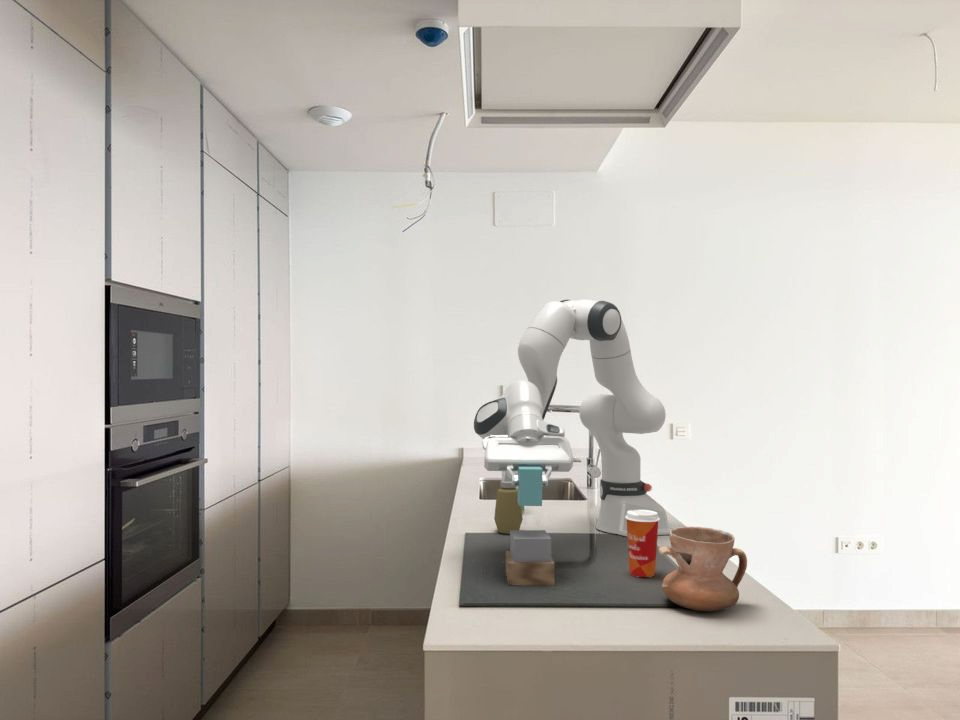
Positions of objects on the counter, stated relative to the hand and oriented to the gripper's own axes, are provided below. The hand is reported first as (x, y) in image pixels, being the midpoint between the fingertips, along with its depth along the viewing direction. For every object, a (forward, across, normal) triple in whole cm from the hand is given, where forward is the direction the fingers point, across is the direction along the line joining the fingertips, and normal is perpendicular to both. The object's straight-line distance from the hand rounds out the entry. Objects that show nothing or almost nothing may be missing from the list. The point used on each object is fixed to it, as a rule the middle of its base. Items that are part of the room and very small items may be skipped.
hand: (530, 484), depth 152 cm
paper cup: (+12, +26, +17) cm, 34 cm away
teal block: (+3, 0, +4) cm, 4 cm away
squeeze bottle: (-16, -2, +46) cm, 49 cm away
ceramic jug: (+26, +33, +3) cm, 42 cm away
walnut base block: (+14, 0, +16) cm, 21 cm away
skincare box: (-34, +1, +64) cm, 73 cm away
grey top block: (+11, 0, +12) cm, 16 cm away
